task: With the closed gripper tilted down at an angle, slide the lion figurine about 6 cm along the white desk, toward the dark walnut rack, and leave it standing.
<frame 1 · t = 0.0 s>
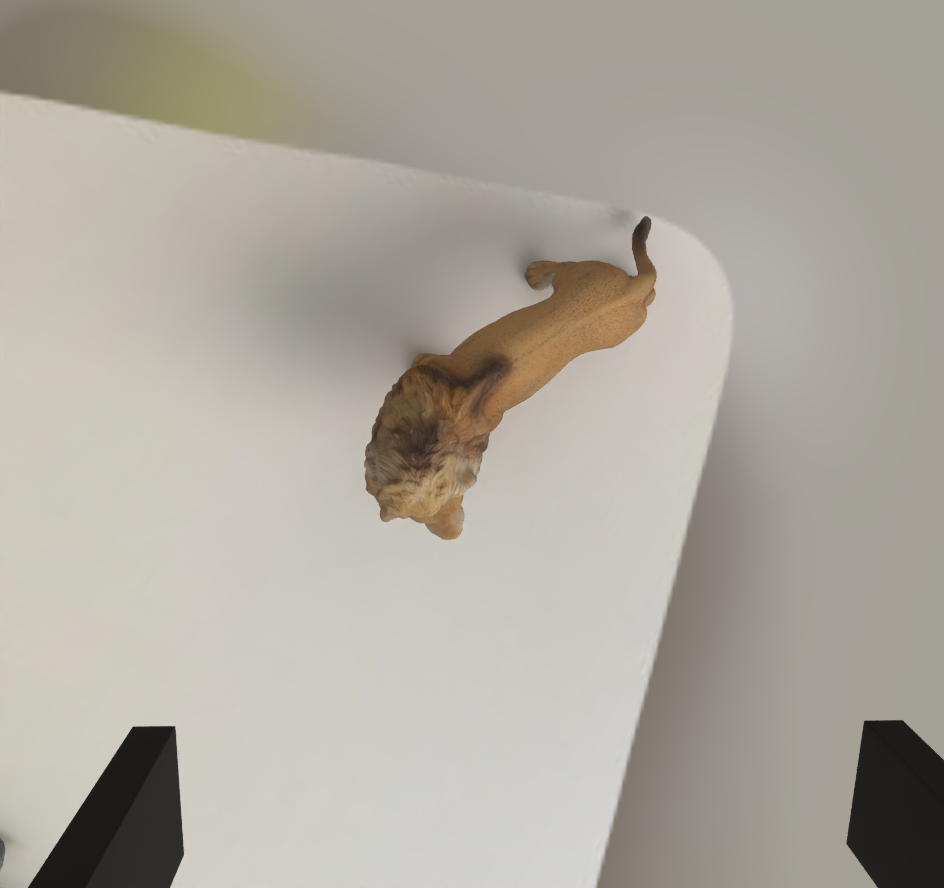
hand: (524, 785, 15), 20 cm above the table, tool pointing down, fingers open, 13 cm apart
lion figurine: (509, 356, 33), on the table
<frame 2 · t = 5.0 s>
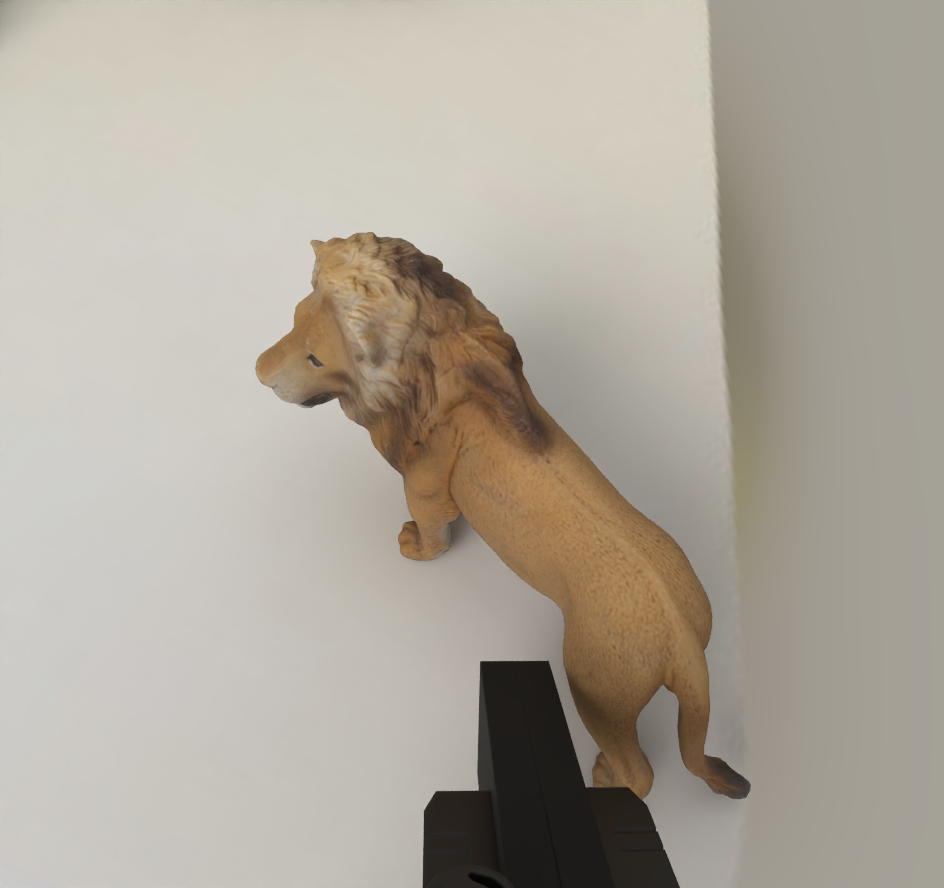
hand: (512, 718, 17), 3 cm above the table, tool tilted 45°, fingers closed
lion figurine: (496, 594, 22), on the table, touching gripper
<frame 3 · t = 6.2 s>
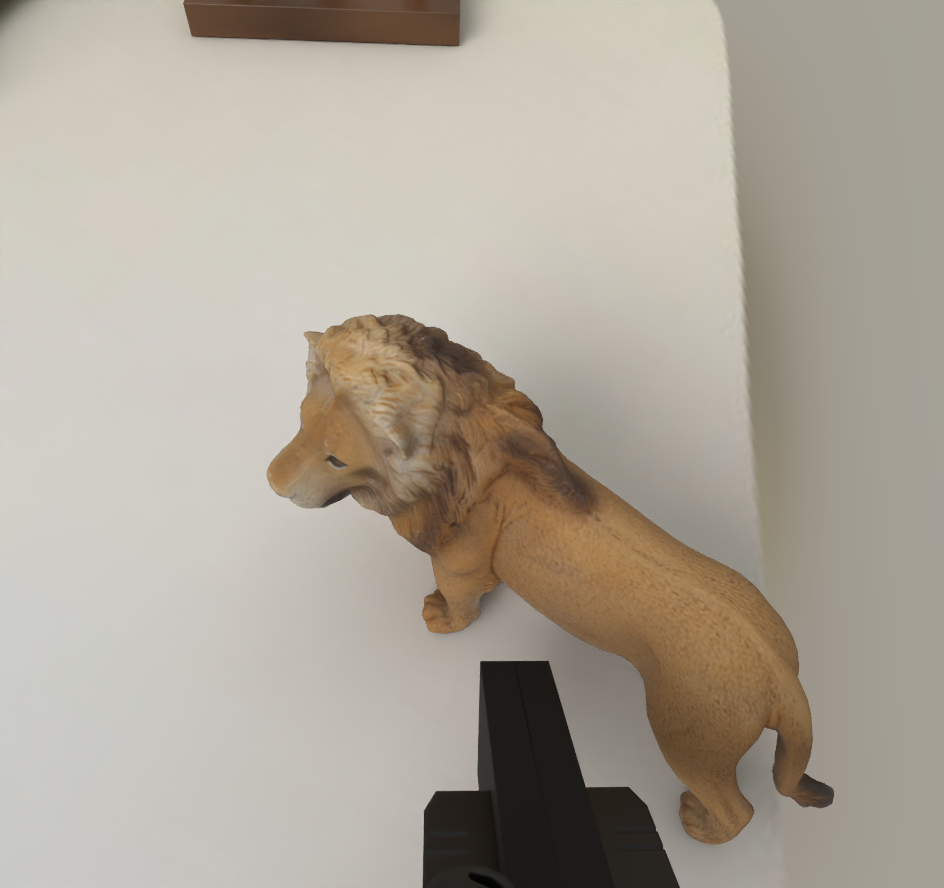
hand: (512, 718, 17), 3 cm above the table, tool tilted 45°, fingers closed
lion figurine: (534, 650, 21), on the table
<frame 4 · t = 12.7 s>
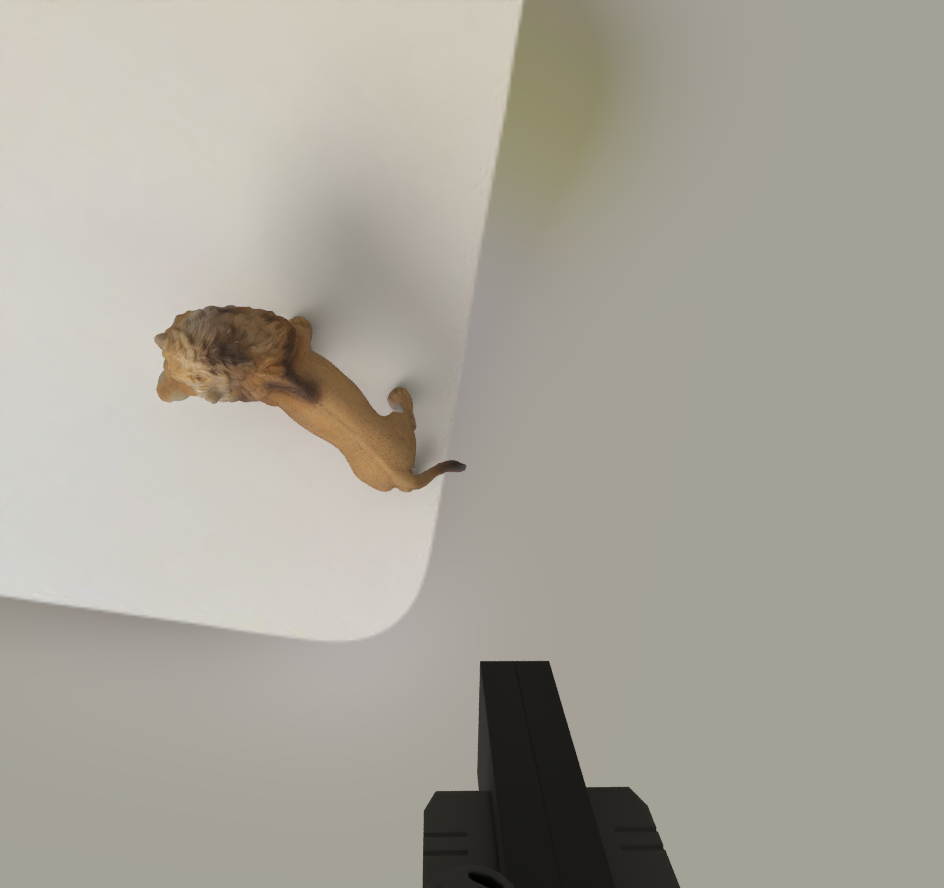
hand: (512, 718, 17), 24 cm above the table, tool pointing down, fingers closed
lion figurine: (329, 393, 40), on the table
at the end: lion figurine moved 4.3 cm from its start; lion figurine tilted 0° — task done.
